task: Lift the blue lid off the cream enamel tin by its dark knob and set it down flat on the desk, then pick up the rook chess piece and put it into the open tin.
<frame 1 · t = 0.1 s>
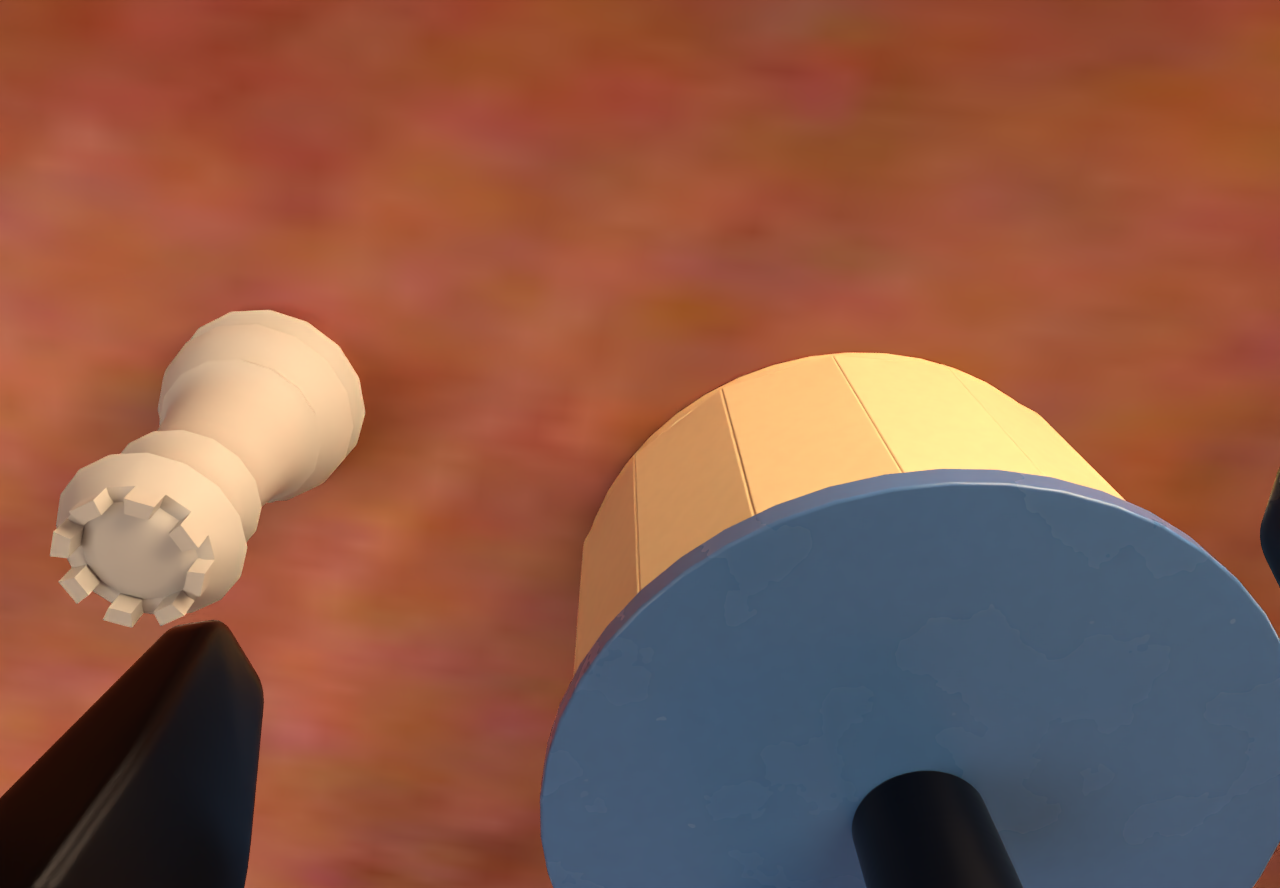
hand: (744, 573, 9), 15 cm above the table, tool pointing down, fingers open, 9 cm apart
lid: (910, 799, 20), point 7 cm above the table, touching tin
rook chess piece: (278, 390, 24), on the table
tin: (835, 593, 27), on the table
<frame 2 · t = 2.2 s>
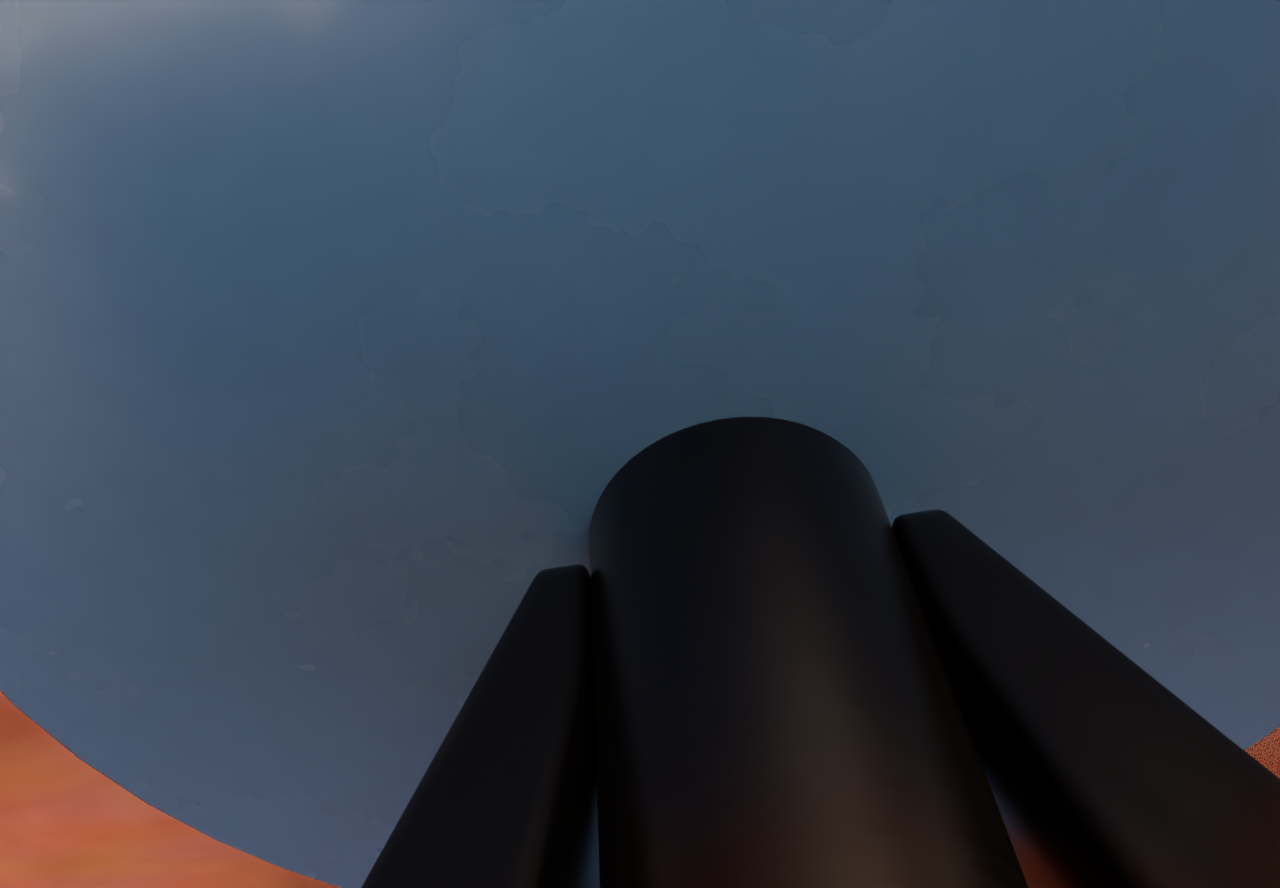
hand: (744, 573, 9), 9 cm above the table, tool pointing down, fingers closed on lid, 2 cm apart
lid: (725, 487, 9), point 7 cm above the table, touching gripper, tin
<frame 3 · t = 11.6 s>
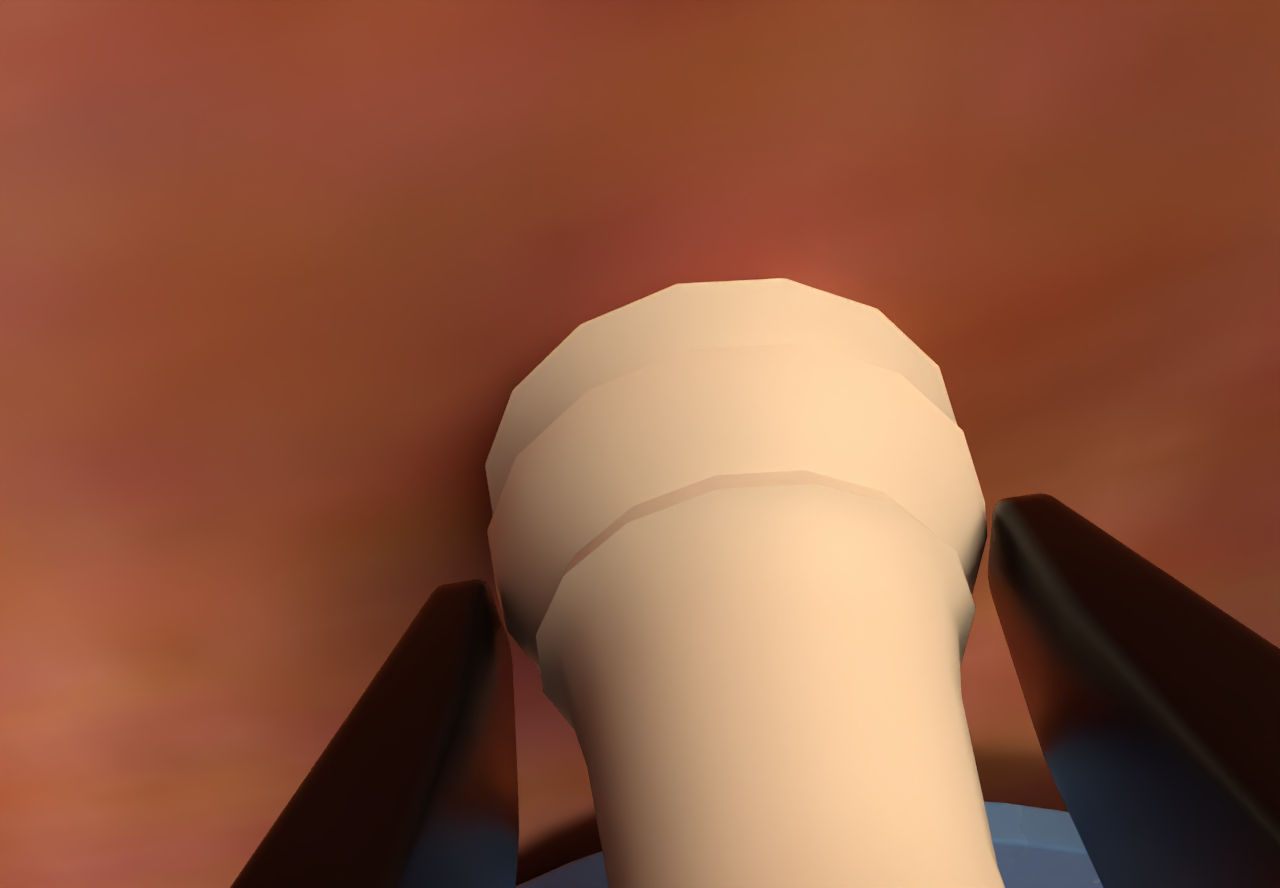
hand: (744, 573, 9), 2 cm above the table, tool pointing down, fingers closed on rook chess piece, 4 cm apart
rook chess piece: (714, 442, 10), on the table, touching gripper
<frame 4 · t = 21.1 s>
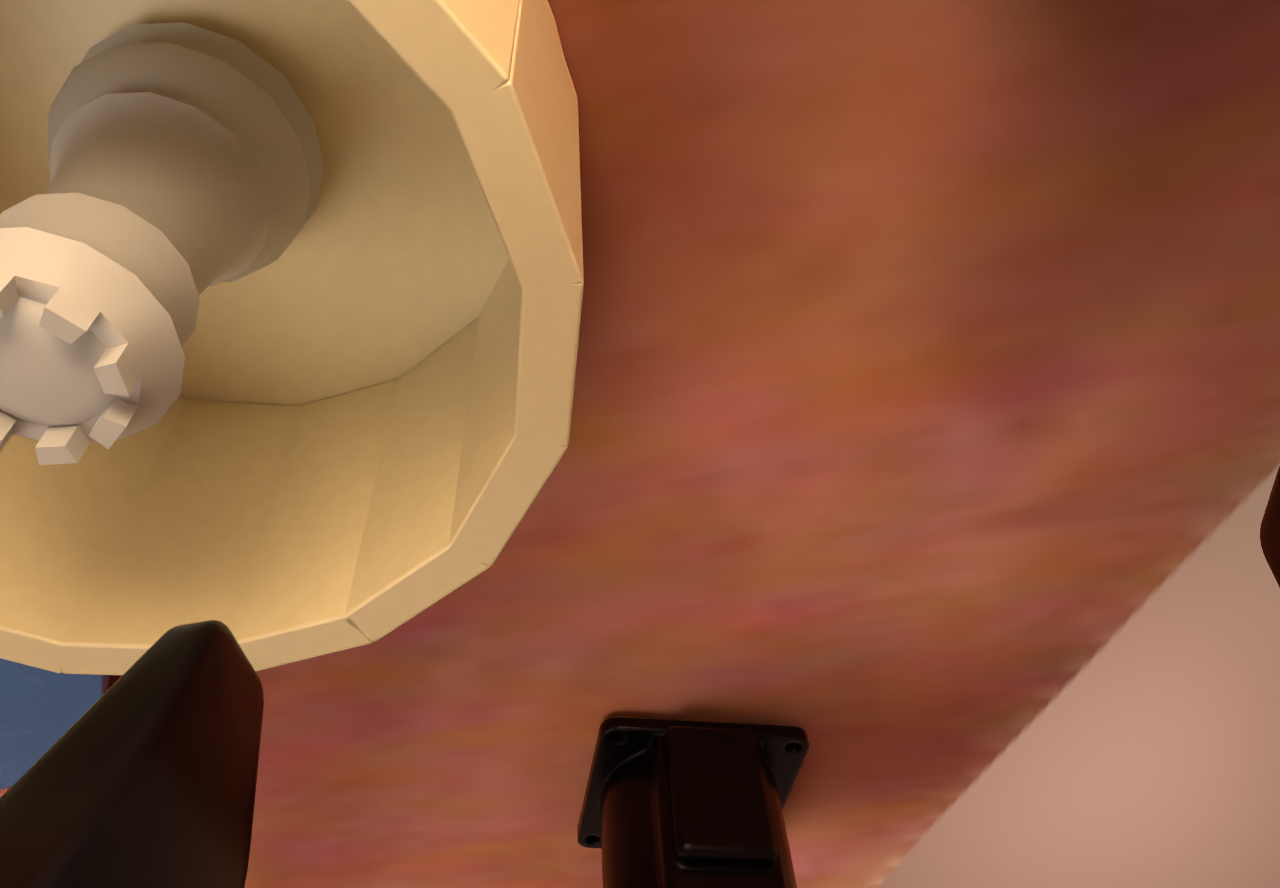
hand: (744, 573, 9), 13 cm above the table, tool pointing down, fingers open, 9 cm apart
rook chess piece: (207, 136, 19), resting on tin
tin: (211, 126, 19), on the table
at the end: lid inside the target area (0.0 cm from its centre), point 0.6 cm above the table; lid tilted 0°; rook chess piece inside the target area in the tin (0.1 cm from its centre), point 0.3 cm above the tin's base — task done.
